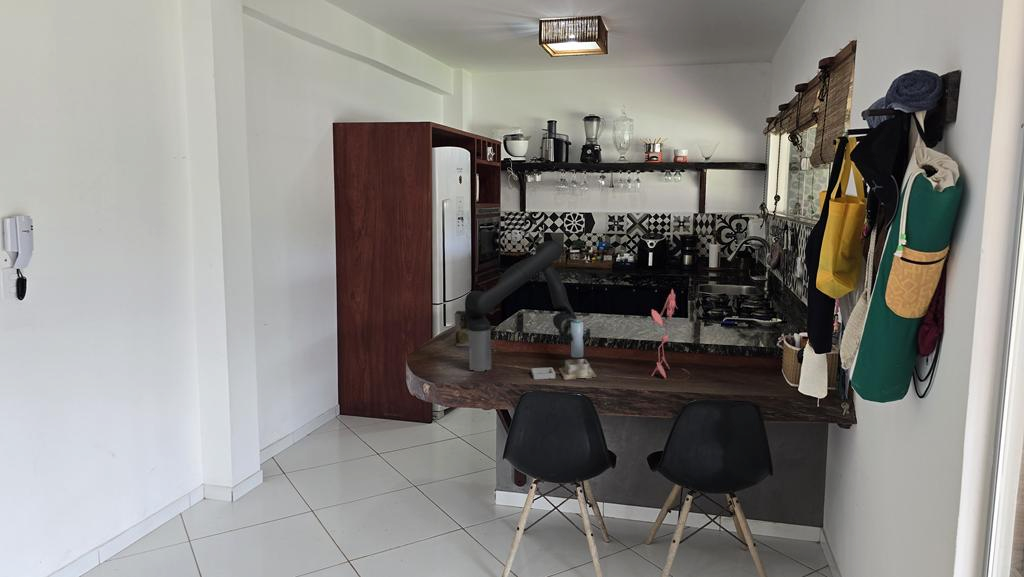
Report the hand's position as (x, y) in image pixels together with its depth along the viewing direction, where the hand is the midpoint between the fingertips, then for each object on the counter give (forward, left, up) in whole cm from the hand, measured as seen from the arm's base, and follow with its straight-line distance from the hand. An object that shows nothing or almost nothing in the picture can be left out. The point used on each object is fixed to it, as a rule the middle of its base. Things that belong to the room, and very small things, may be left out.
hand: (578, 338), depth 286 cm
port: (0, +3, -16) cm, 16 cm away
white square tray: (-14, +3, -16) cm, 21 cm away
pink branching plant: (+37, -4, -16) cm, 40 cm away
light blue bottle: (0, +3, -8) cm, 8 cm away
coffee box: (-44, +59, -16) cm, 75 cm away
